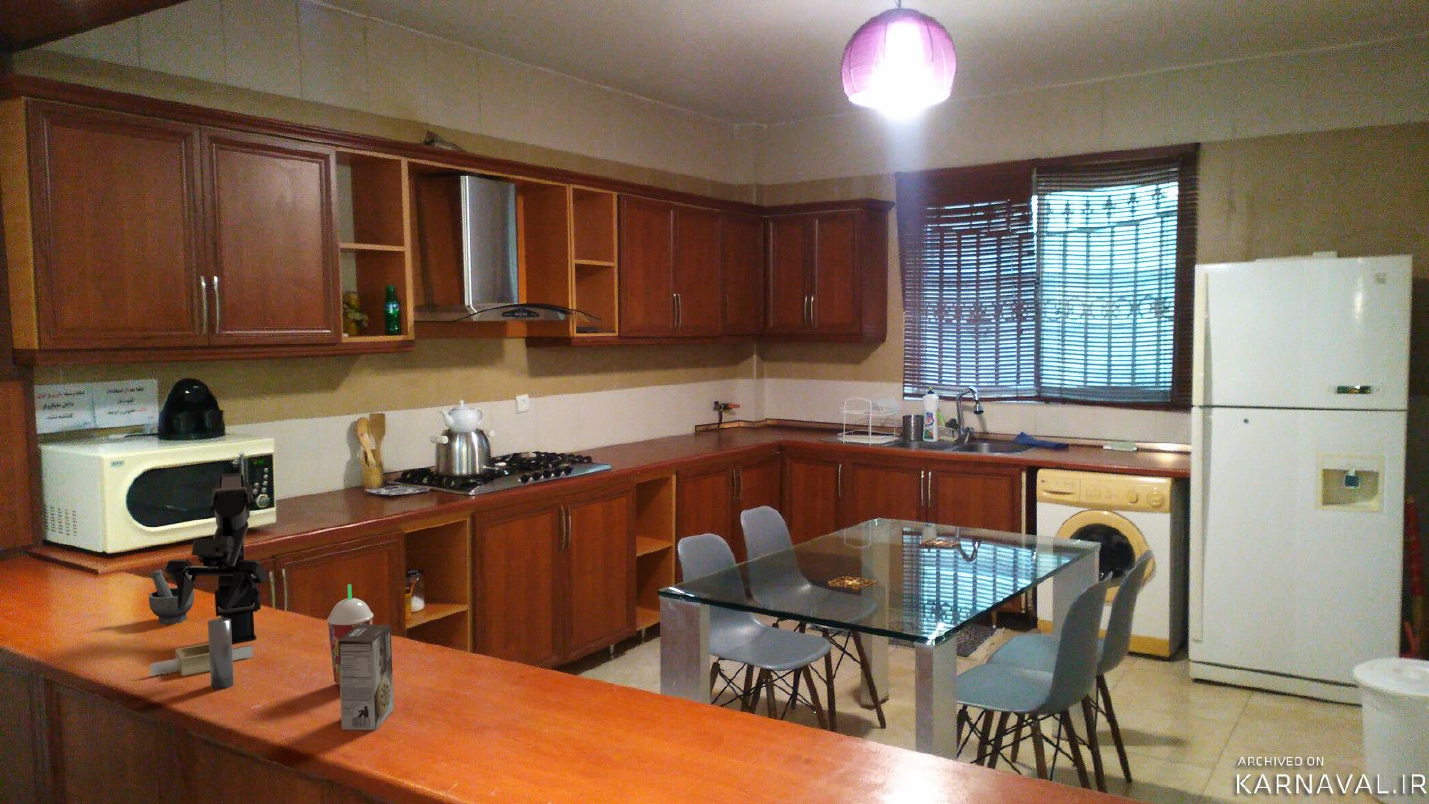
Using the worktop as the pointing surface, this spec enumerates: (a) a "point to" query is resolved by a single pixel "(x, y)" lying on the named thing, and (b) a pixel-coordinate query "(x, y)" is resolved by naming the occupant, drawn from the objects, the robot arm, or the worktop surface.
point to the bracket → (194, 660)
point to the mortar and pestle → (167, 601)
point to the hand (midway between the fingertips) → (202, 609)
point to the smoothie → (346, 625)
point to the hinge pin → (220, 653)
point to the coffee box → (366, 677)
